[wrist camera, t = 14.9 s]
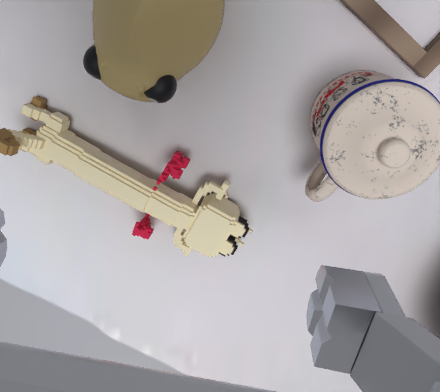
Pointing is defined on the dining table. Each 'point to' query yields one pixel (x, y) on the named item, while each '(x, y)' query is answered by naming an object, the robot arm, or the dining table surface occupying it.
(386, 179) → the teacup with lid
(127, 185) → the cat figure
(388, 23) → the frame
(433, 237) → the dining table surface
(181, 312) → the dining table surface
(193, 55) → the toy pig
